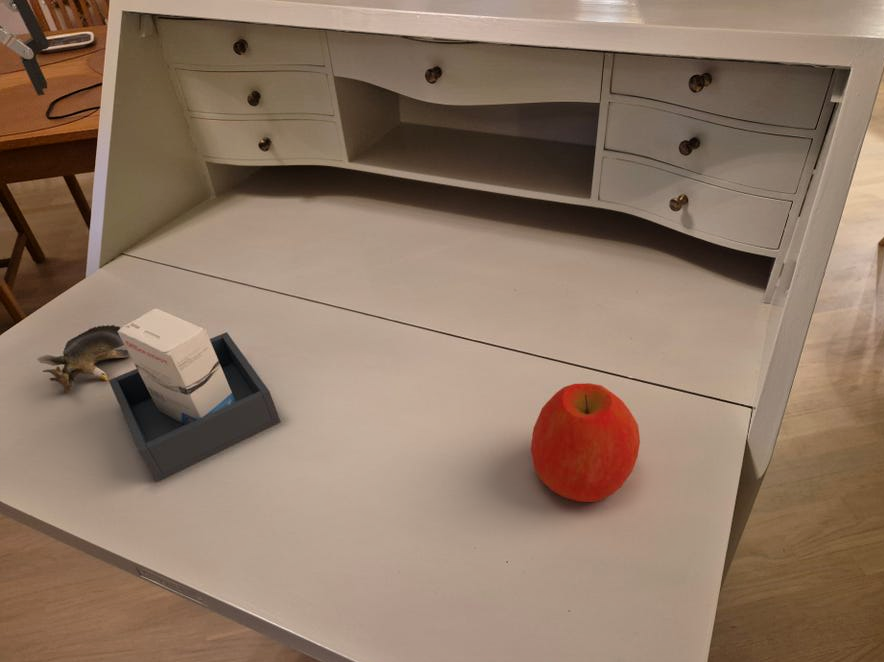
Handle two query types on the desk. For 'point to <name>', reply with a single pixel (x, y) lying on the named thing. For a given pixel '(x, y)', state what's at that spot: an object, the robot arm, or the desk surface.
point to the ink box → (177, 365)
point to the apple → (585, 443)
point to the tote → (186, 445)
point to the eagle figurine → (85, 354)
